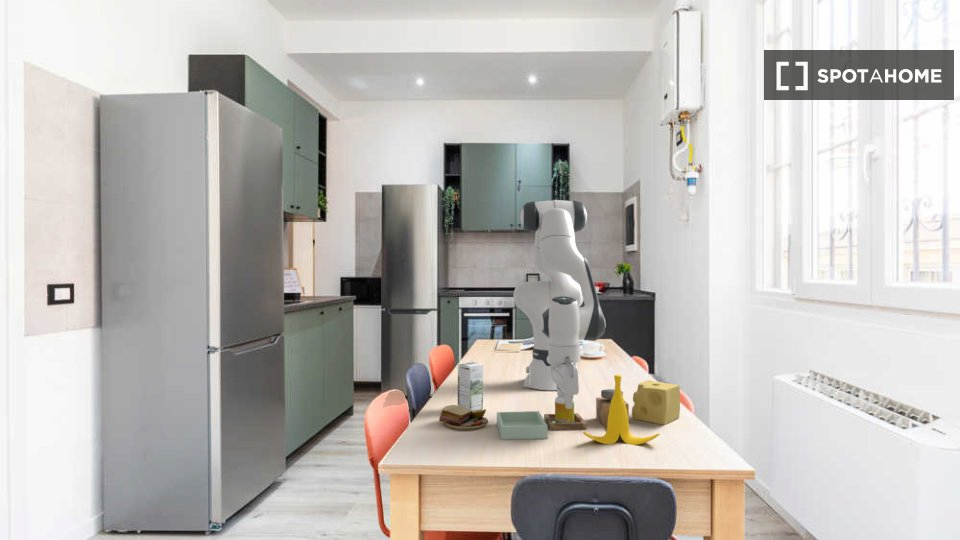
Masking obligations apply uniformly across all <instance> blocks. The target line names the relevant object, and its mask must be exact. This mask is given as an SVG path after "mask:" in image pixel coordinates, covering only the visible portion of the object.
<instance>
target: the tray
mask: <svg viewBox="0 0 960 540" xmlns="http://www.w3.org/2000/svg"><path fill="white" fill-rule="evenodd" d="M496 426H497V429H498V432H499V436H500V437H499V438H500V440H501V441H502V440H539V439H540V440H541V439H542V440H543V439H548V425H547V424H546V422H545V420H544V417H543V416H542V414H541V413H540V411H539V410H537V411H536V410H535V411H533V410H531V411H530V410H529V411H526V410H525V411H497V412H496Z"/></svg>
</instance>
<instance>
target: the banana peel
mask: <svg viewBox="0 0 960 540" xmlns="http://www.w3.org/2000/svg"><path fill="white" fill-rule="evenodd" d="M613 377H614V390H615V391H614V395H613V397H612V400H611V404H610V408H609V411H608V422H607V426H606V427H607V428H606V431H605V433H604V435H603V436H596V435H592V434H590V433H588V432H586V431H582V433H583V435H585V437H588V439H591V440H592V441H596V442H598V443H600V444H604V445H612V444H613V445H614V444H615V443H616V442H617V441H618V439H620V437H621V439H622V440H623V442H624V443H625V444H627V445H630V446H631V445H632V446H637V445H641V444H642V445H643V444H646V443H649V442H650V441H653V440H654V439H656V438H657V437H659V436H660V435H661V433H660V432H658V433H655V434H653V435H650V436H647V437H638V436H633V434H632V433H630V424H629V423H630V422H629V423H628V415H627V410H626V406H625V402H626V401H625V399H624V397H623V396H622V393H621V391H622V387H621V383H622V382H621V381H622V375H621V374H615V375H613ZM624 401H625V402H624Z"/></svg>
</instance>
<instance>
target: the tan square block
mask: <svg viewBox="0 0 960 540" xmlns="http://www.w3.org/2000/svg"><path fill="white" fill-rule="evenodd" d="M614 391H615V388H614V389H613V388H612V389H611V388H610V389H609V388H608V389H607V388H606V389H603V390H601V391H600V393H601V395H600V397H595V408H596V410H595V413H596V415H595V418H596V419H597V421H598V422H599V423H600V424H601V425H603V427H607V422H608V411H609V408H610V404H611V400H612V397H613V395H614ZM621 393H622V396H623V395H624V392H623V391H622V390H621ZM624 402H625V406H626V410H627V415H628V423H630V422H629V421H630V420H629V418H630V415H629V414H630V413H629V411H630V410H629V407H630V406H629V403H627V401H625V400H624Z"/></svg>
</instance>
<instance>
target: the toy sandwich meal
mask: <svg viewBox="0 0 960 540" xmlns="http://www.w3.org/2000/svg"><path fill="white" fill-rule="evenodd" d="M486 412H487V409H485V408H484V409H483V410H480V411H472V410H470V409H466V408H464V407H459V406H458V404H450V405H446V406H444V407H443V408H442V409H441V412H440V415H439V418H438V419H439V422H442V423H443V424H444V425H445V426H446V427H447V428H449V429H451V430H456V431H475V430H479V429H482V428H484V427H486V426H487V425H488V423H489V420H488V418H487V417H484V416H485V414H486Z"/></svg>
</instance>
